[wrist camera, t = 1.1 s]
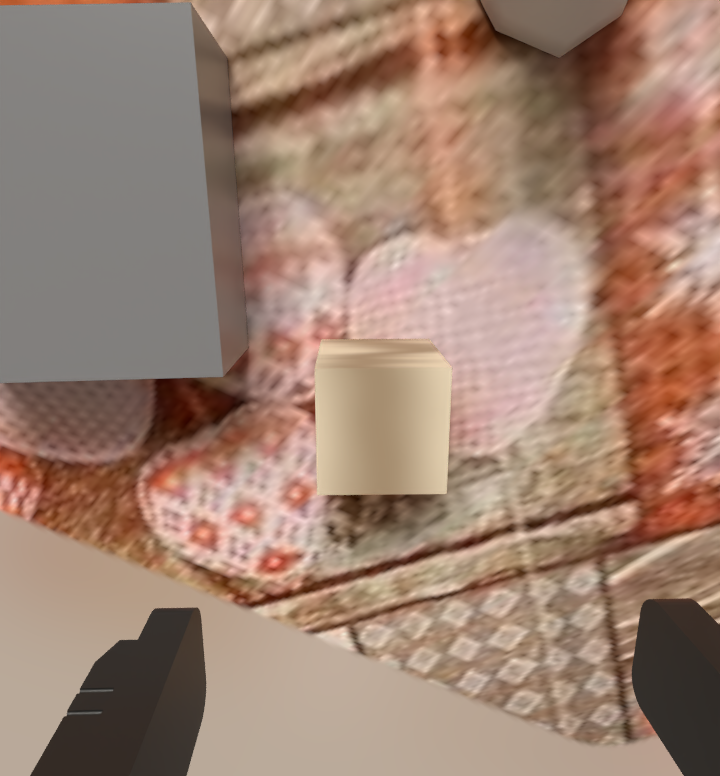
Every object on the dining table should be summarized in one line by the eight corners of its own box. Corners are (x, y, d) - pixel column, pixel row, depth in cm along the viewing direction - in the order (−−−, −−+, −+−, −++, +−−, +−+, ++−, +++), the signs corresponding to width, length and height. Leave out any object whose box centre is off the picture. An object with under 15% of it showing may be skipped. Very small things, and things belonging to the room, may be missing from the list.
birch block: (428, 338, 27) (452, 367, 21) (425, 440, 28) (446, 493, 22) (321, 339, 26) (314, 368, 21) (322, 440, 28) (317, 495, 22)
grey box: (228, 59, 24) (190, 2, 18) (249, 346, 27) (223, 376, 21) (-67, 65, 23) (-203, 8, 18) (-11, 353, 26) (-110, 386, 21)
